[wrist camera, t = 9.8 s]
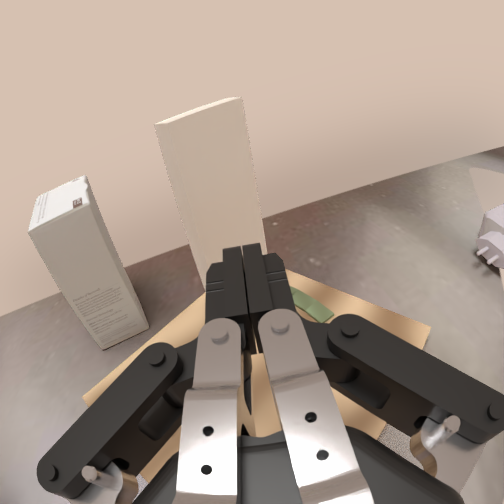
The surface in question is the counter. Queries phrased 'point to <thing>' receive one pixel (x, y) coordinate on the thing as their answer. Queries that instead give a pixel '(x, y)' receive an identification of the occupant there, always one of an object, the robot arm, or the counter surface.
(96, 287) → the skincare box
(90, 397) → the dial board
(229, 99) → the key
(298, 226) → the counter surface
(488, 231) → the charger
